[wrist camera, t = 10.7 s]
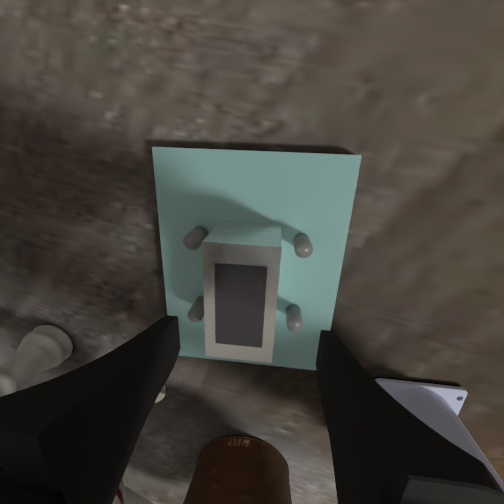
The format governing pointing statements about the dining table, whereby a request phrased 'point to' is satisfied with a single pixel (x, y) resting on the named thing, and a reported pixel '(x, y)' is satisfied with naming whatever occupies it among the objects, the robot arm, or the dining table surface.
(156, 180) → the pin tray
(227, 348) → the block
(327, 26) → the dining table surface
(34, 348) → the rook chess piece
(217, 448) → the pitcher
